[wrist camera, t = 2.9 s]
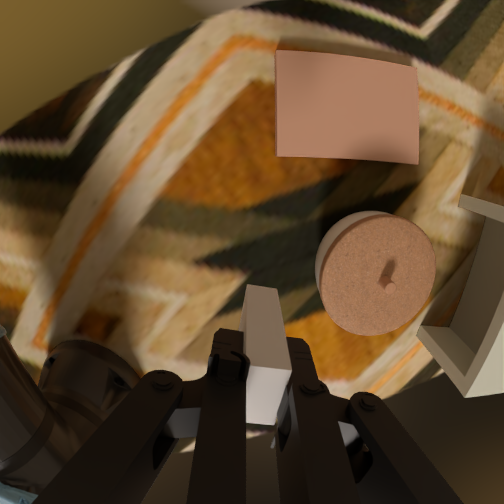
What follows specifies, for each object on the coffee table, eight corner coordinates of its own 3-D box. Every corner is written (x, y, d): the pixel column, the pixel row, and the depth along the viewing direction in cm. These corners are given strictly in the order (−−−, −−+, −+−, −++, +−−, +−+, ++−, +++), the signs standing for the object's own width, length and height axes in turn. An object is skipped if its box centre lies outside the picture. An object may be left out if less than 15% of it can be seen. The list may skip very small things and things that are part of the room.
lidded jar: (399, 196, 31) (449, 214, 22) (399, 290, 34) (439, 332, 25) (299, 207, 31) (320, 229, 22) (308, 306, 34) (327, 357, 25)
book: (274, 156, 30) (277, 156, 28) (274, 57, 27) (276, 49, 25) (407, 163, 30) (418, 164, 28) (405, 72, 27) (416, 67, 25)
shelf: (416, 335, 36) (464, 397, 24) (461, 193, 31) (537, 217, 19) (478, 338, 37) (527, 388, 25) (520, 217, 31) (586, 243, 20)
